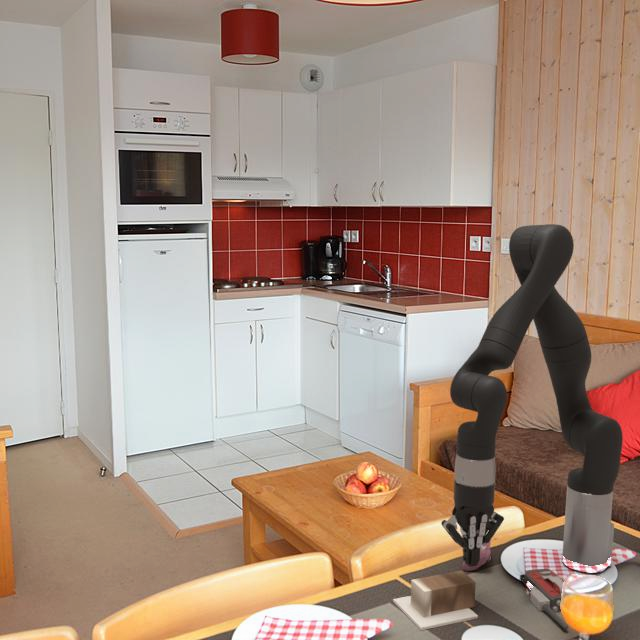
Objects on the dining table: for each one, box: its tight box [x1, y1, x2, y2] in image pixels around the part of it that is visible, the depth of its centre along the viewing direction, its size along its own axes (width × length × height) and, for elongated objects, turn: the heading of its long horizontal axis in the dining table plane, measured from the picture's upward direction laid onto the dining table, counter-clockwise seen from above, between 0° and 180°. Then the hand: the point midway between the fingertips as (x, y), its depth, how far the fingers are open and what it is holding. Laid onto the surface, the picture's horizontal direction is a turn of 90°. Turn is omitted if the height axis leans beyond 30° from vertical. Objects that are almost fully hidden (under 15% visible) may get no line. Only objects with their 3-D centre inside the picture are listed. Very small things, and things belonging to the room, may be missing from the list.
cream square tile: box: [392, 595, 479, 631], centre depth 150 cm, size 12×11×1 cm
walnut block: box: [410, 570, 477, 617], centre depth 150 cm, size 5×5×11 cm
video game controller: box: [461, 541, 492, 572], centre depth 169 cm, size 10×5×7 cm, turn 169°
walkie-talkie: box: [519, 568, 569, 630], centre depth 152 cm, size 9×4×20 cm
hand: (471, 564), depth 151 cm, fingers closed
